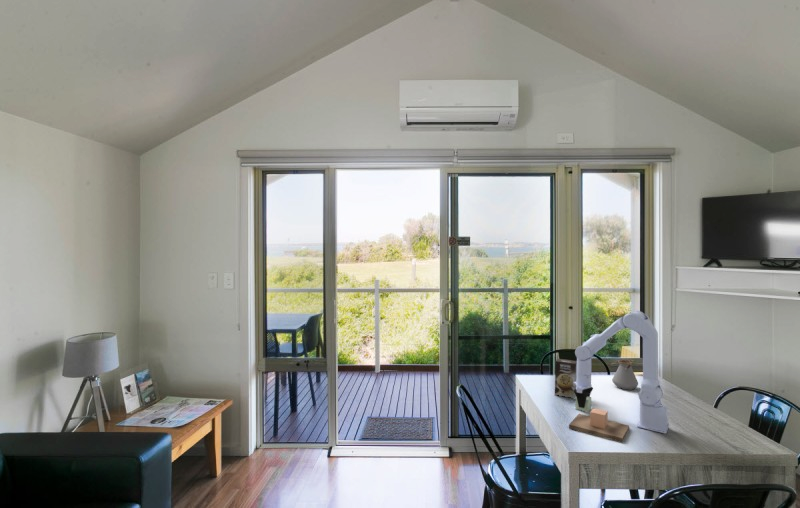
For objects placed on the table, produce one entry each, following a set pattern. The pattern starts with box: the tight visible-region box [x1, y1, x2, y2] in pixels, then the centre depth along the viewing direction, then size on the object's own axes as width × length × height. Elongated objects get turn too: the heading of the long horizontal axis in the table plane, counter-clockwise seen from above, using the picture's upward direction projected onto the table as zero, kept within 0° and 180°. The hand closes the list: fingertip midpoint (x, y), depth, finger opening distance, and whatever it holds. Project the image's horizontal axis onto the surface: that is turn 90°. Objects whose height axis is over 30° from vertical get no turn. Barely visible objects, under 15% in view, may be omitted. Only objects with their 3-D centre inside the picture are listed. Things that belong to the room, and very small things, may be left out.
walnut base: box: [568, 413, 630, 443], centre depth 156 cm, size 18×14×2 cm
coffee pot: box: [612, 359, 639, 391], centre depth 202 cm, size 21×12×15 cm, turn 158°
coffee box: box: [554, 357, 577, 399], centre depth 194 cm, size 9×6×16 cm
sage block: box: [575, 396, 592, 413], centre depth 177 cm, size 5×5×5 cm
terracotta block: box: [589, 408, 609, 429], centre depth 156 cm, size 5×5×5 cm
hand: (583, 405), depth 177 cm, fingers closed on sage block, 5 cm apart
